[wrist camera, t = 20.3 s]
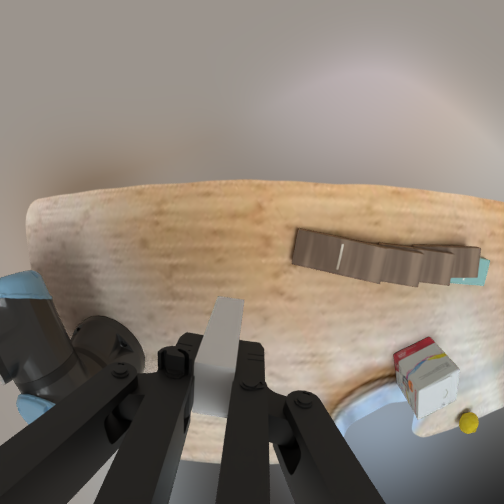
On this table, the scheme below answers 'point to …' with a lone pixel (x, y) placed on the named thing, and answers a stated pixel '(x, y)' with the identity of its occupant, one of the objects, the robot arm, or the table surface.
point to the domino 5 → (481, 275)
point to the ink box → (426, 377)
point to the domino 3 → (433, 264)
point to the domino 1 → (340, 255)
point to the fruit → (468, 422)
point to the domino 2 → (402, 266)
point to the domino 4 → (460, 259)
